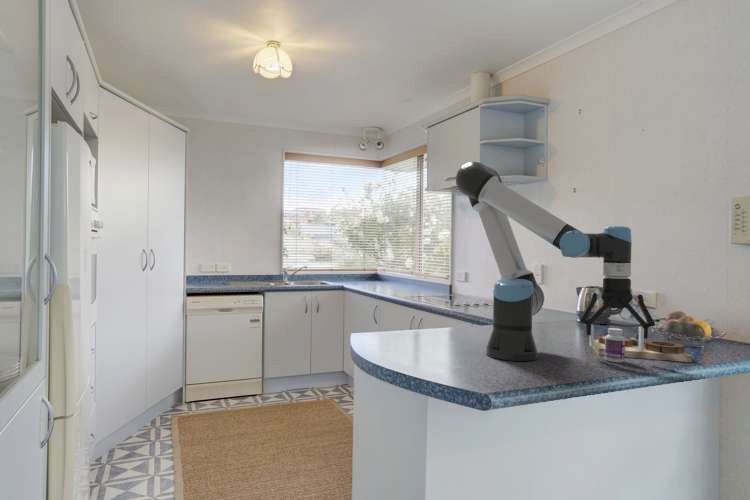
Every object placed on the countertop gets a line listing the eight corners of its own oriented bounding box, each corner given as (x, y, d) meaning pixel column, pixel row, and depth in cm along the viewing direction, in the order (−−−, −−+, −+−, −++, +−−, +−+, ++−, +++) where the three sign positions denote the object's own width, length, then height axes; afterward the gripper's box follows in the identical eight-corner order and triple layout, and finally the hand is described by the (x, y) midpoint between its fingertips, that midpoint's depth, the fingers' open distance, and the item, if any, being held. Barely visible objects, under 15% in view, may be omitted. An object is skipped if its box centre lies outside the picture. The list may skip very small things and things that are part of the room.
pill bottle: (626, 363, 139) (627, 330, 139) (607, 362, 140) (608, 329, 140) (621, 359, 144) (622, 328, 144) (602, 358, 145) (603, 327, 145)
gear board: (599, 354, 150) (599, 334, 150) (590, 344, 167) (590, 326, 167) (692, 362, 143) (692, 341, 143) (673, 351, 160) (673, 332, 160)
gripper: (574, 276, 142) (573, 347, 142) (667, 279, 135) (666, 353, 135) (570, 275, 149) (570, 342, 149) (659, 278, 143) (658, 348, 142)
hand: (615, 347), depth 142 cm, fingers open, 13 cm apart
